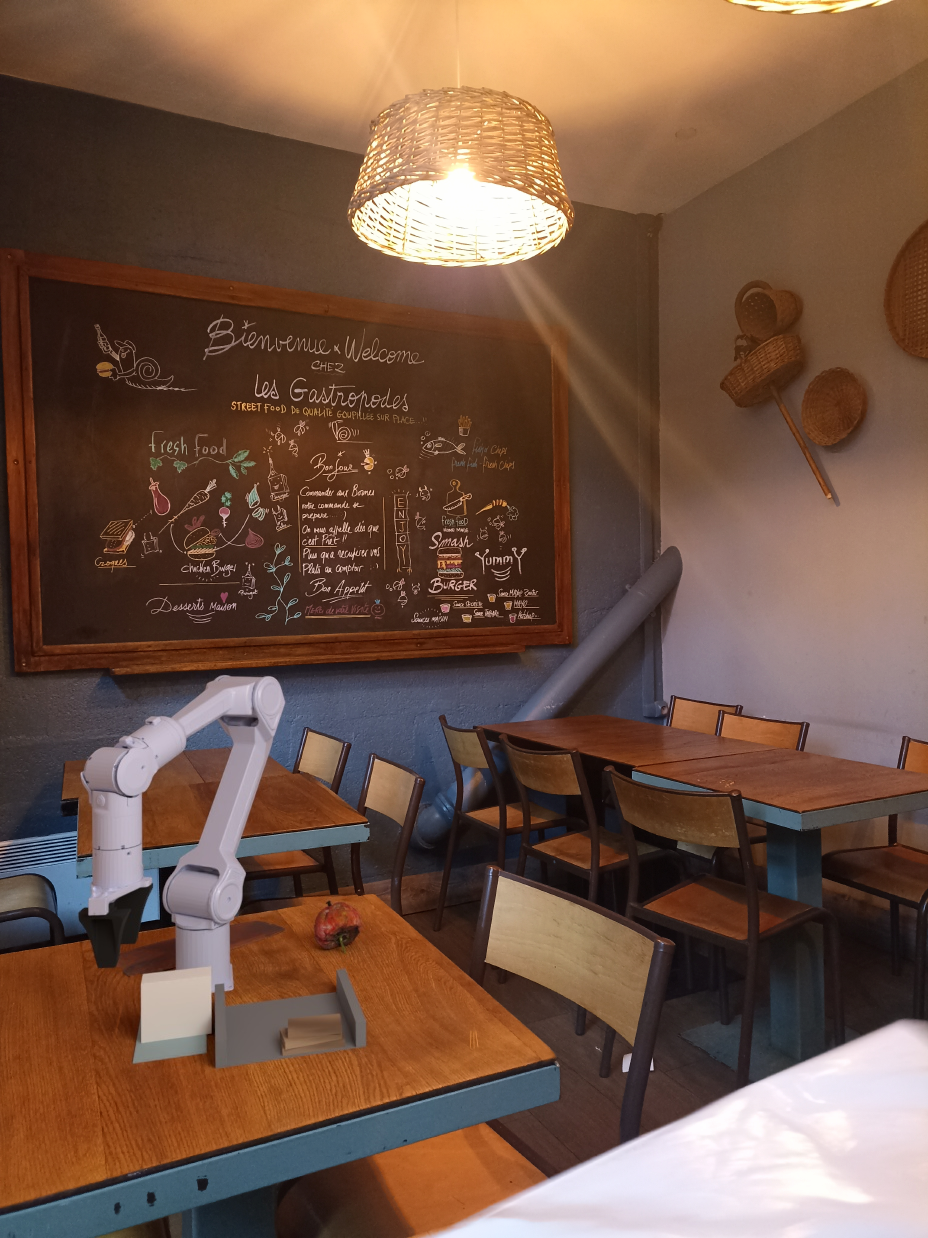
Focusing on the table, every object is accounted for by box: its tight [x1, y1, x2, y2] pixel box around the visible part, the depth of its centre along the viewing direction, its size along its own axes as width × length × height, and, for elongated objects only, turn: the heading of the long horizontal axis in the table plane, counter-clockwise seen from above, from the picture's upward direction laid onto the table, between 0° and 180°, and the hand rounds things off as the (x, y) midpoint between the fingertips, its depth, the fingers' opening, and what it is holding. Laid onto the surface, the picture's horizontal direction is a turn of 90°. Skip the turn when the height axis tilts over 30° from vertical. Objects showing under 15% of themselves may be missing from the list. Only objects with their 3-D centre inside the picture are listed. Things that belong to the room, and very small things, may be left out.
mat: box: [132, 1017, 208, 1064], centre depth 104 cm, size 12×8×1 cm, turn 17°
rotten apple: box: [313, 900, 363, 954], centre depth 133 cm, size 7×7×10 cm
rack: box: [214, 968, 367, 1069], centre depth 106 cm, size 16×17×4 cm
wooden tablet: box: [115, 920, 286, 978], centre depth 134 cm, size 27×10×2 cm, turn 136°
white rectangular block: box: [140, 966, 213, 1043], centre depth 104 cm, size 3×8×7 cm, turn 107°
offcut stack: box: [280, 1014, 345, 1056], centre depth 101 cm, size 4×7×2 cm, turn 107°
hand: (117, 954), depth 106 cm, fingers open, 7 cm apart
